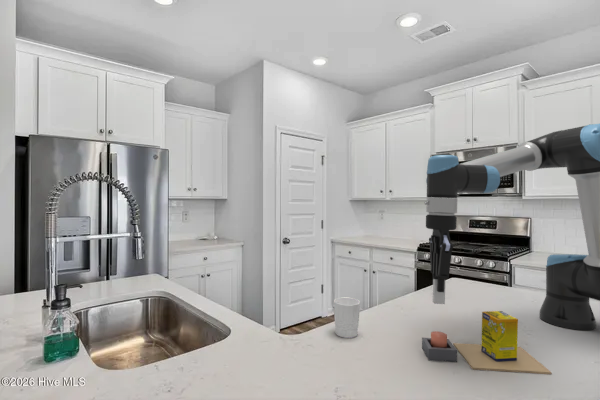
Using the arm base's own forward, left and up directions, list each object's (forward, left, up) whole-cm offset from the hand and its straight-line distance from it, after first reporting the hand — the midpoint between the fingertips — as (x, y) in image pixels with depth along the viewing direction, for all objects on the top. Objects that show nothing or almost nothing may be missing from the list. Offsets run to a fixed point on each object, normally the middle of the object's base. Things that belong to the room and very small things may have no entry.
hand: (438, 302), depth 91 cm
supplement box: (-15, 0, -14) cm, 21 cm away
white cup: (+24, -11, -14) cm, 30 cm away
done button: (0, 0, -12) cm, 12 cm away
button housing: (0, 0, -14) cm, 14 cm away
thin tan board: (-15, 0, -14) cm, 21 cm away
